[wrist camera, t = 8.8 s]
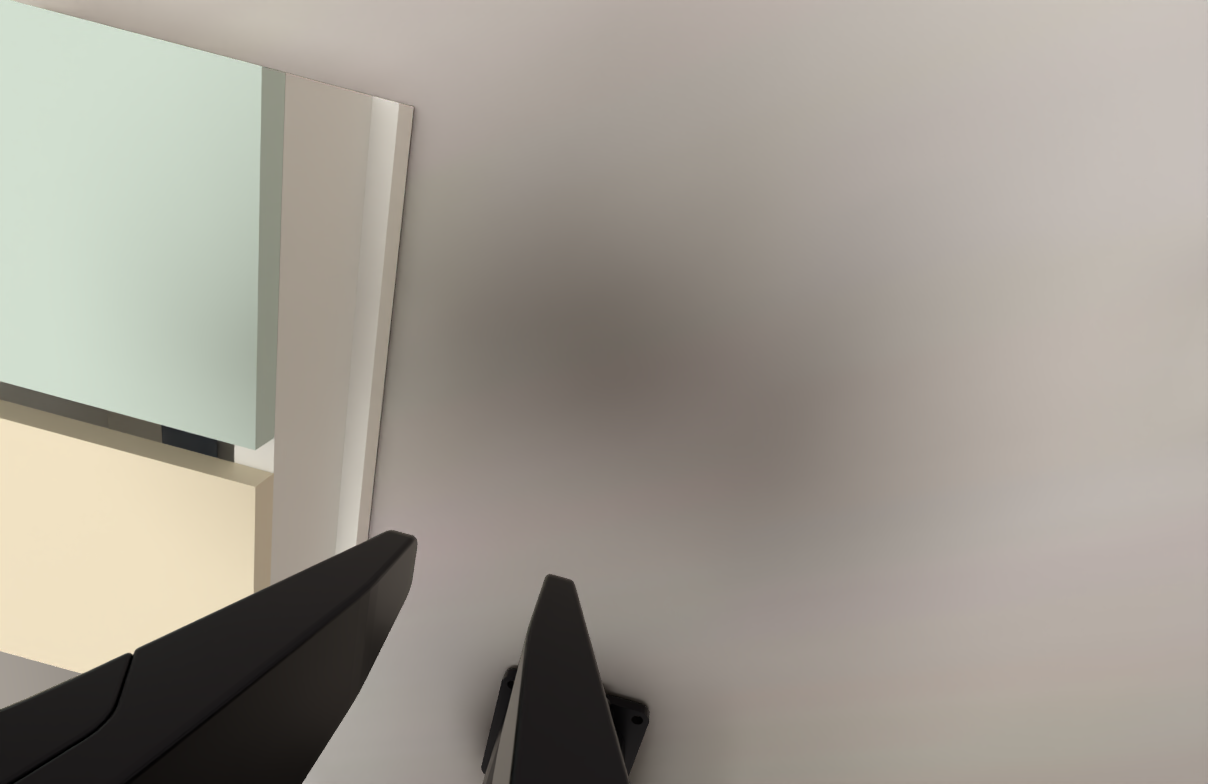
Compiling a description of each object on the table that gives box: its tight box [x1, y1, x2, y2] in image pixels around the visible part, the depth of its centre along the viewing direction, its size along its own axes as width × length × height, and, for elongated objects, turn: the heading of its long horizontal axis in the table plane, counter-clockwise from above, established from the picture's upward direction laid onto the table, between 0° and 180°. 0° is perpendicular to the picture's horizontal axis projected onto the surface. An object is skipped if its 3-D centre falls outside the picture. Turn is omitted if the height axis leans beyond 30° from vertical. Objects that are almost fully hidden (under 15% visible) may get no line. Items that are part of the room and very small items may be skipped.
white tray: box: [0, 73, 414, 586], centre depth 19 cm, size 20×12×5 cm, turn 166°
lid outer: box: [0, 0, 285, 450], centre depth 14 cm, size 9×10×1 cm
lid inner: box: [0, 399, 274, 673], centre depth 18 cm, size 9×10×1 cm
